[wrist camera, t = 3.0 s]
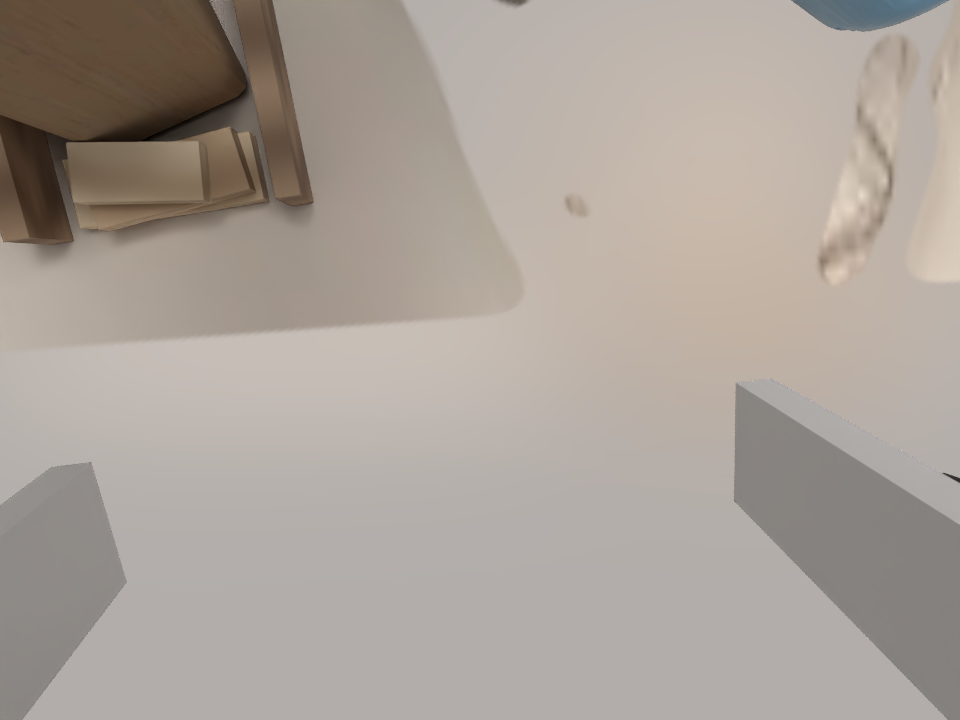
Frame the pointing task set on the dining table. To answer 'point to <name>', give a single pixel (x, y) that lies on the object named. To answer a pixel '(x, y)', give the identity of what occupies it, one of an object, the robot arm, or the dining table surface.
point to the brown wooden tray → (160, 160)
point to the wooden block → (113, 66)
